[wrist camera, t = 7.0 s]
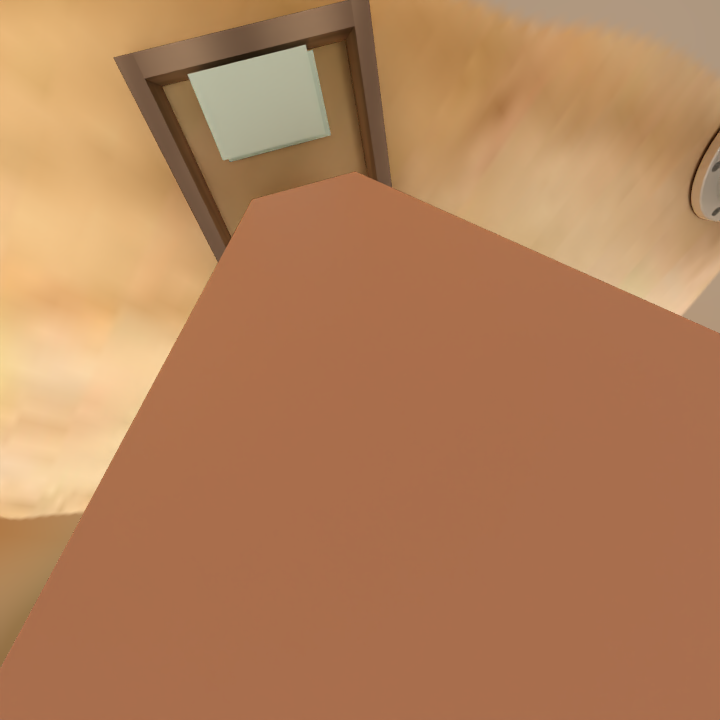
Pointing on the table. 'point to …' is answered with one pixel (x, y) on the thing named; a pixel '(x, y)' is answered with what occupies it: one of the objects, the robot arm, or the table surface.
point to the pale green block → (262, 103)
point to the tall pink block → (397, 492)
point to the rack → (246, 42)
